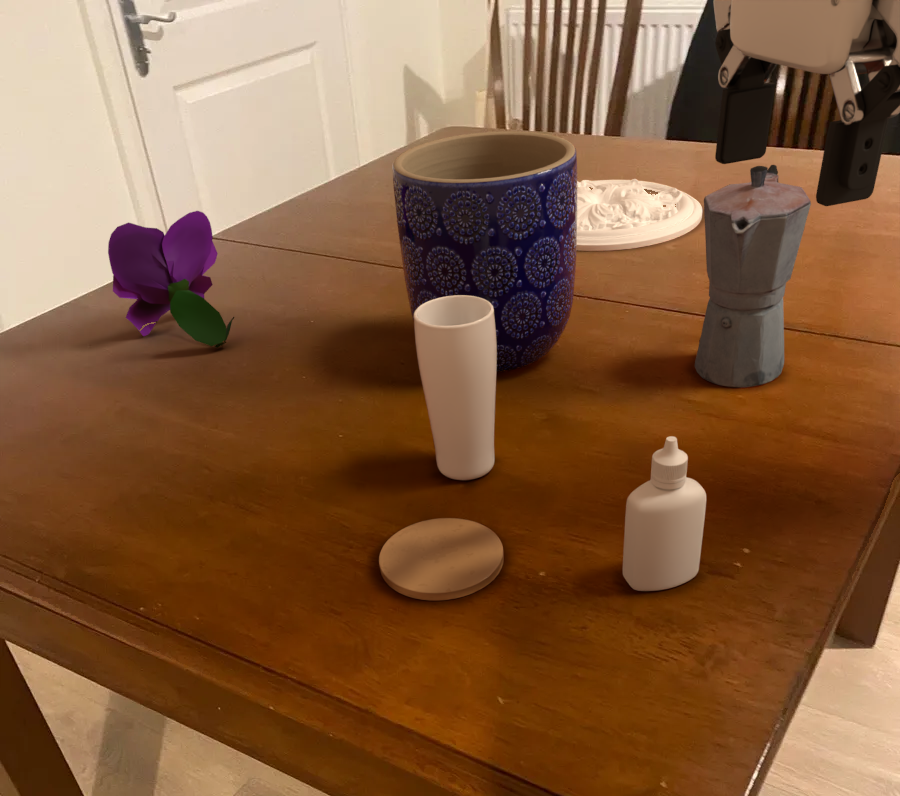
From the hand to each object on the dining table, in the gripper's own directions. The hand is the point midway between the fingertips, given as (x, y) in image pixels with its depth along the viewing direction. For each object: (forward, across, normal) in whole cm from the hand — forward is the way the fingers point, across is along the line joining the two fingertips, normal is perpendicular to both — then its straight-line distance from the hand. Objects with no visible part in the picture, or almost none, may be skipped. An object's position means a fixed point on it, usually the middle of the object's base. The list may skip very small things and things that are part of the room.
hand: (788, 179), depth 52 cm
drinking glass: (+28, +23, +13) cm, 39 cm away
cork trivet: (+28, +10, +20) cm, 36 cm away
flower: (+29, +67, +32) cm, 80 cm away
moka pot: (+28, +29, -19) cm, 44 cm away
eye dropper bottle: (+28, +1, +5) cm, 29 cm away
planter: (+28, +45, +1) cm, 53 cm away
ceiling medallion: (+28, +80, -30) cm, 89 cm away
